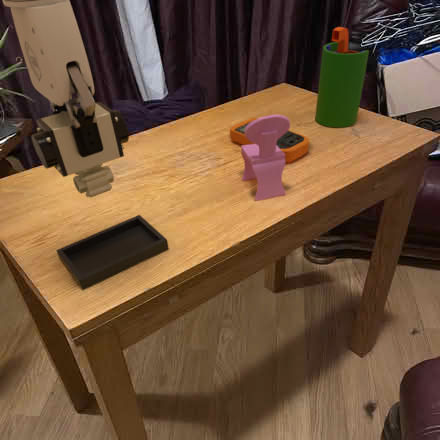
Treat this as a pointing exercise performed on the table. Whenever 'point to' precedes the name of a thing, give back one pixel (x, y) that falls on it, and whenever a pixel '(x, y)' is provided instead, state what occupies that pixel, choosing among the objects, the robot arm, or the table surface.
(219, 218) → the table surface
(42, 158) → the pneumatic valve
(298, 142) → the multimeter
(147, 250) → the black tray
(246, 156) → the toy chair
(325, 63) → the green cylindrical container
